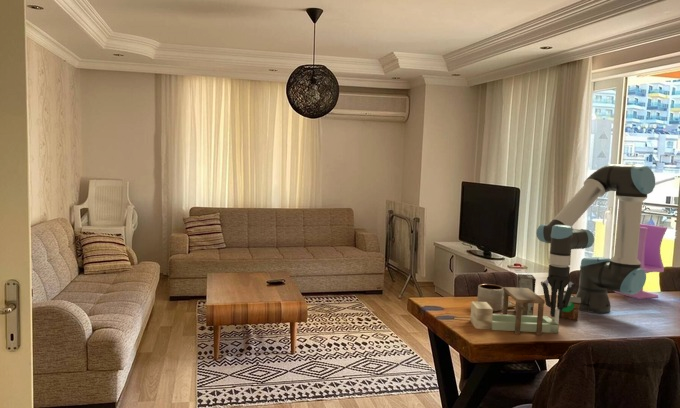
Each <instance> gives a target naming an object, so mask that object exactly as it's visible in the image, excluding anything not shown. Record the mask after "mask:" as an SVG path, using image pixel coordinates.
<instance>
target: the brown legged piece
mask: <svg viewBox="0 0 680 408" xmlns="http://www.w3.org/2000/svg"><path fill="white" fill-rule="evenodd" d="M503 288H504V289H503V290H504V294H503V309H502V314H508V311H509V310H508V308H509V297H511V298H512V299H513V300H514V301H515V303H516V302H517V307H516V306H515V307H516V310H515V315H516V321H515V331H514V334H515V335H521V331H520V326H521V312H522V315H527V311H528V303H534V304H538V305H537V315H536V316H537V329H536V332H535V335H537V336H542V333H543V332H542V322H543V316H544V310H545V309H544V308H545V307H544V306H545V305H546V302H545V299H544V298H542V297H541V296H539V295H538V294H537V293H536V292H535V293H534V292H533V291H531V290H530V289H529V288H517V287H512V286H510V287H509V286H508V287H507V286H503ZM522 303H523V311H522Z"/></svg>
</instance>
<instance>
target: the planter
mask: <svg viewBox="0 0 680 408" xmlns="http://www.w3.org/2000/svg"><path fill="white" fill-rule="evenodd" d="M477 287H478V288H477V300H476V302H487V303H488V304H489V305H490V306H491V308H492V309H493V312H498V311H499V312H500V311H501V310H502V311H503V299H504V290H503V289H504V286H501V285H498V284H492V283H481V284H478V286H477Z"/></svg>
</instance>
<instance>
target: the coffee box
mask: <svg viewBox="0 0 680 408" xmlns="http://www.w3.org/2000/svg"><path fill="white" fill-rule="evenodd" d="M516 277H517V278H516V279H517V280H516V288H529V289H530V290H531V291H533V292H534V293H535V294H536V280H537V279H536V277H535V276H534V275H533V274H521V273H518V274H517V276H516ZM534 306H535V303H528V311H527V315H531V316H534ZM516 307H517V302H516V301H515V308H514V309H515V311H516ZM522 311H523V303H522ZM521 315H522V312H521Z"/></svg>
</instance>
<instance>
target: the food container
mask: <svg viewBox="0 0 680 408" xmlns="http://www.w3.org/2000/svg"><path fill="white" fill-rule="evenodd" d="M565 293H566V290H564V294H563V299H564V296H565ZM557 298H558V295H557ZM580 303H581V298H579V297H576V295H574V294H571V297H570V300H569V303H568V306H567V308H563V310H562V314H561V317H560V318H561V319H563V320H567V321H573V322H578V320H579V312H580V309H579V306H580Z"/></svg>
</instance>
